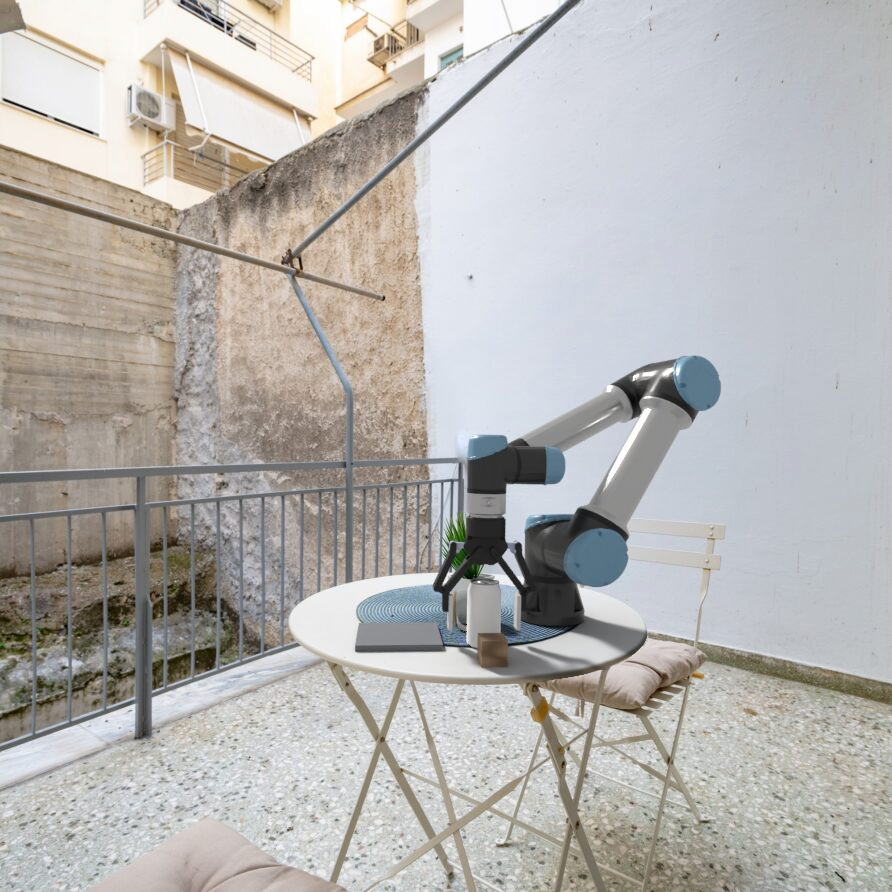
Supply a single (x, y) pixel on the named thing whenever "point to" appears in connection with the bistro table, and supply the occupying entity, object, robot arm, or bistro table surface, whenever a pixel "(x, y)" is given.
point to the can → (483, 609)
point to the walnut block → (492, 650)
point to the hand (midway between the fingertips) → (483, 628)
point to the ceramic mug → (460, 608)
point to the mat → (398, 637)
